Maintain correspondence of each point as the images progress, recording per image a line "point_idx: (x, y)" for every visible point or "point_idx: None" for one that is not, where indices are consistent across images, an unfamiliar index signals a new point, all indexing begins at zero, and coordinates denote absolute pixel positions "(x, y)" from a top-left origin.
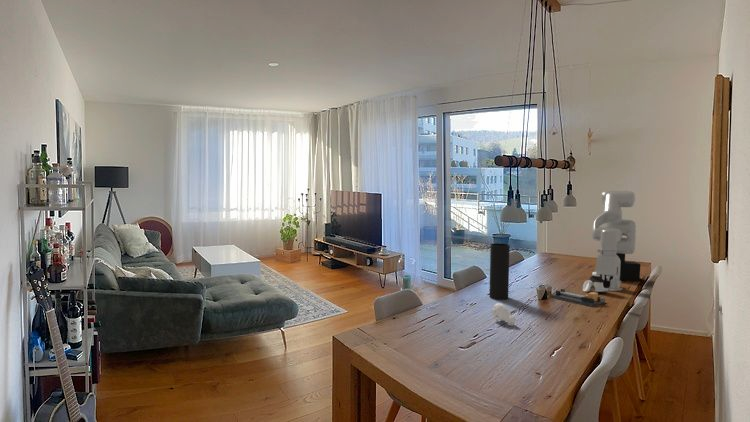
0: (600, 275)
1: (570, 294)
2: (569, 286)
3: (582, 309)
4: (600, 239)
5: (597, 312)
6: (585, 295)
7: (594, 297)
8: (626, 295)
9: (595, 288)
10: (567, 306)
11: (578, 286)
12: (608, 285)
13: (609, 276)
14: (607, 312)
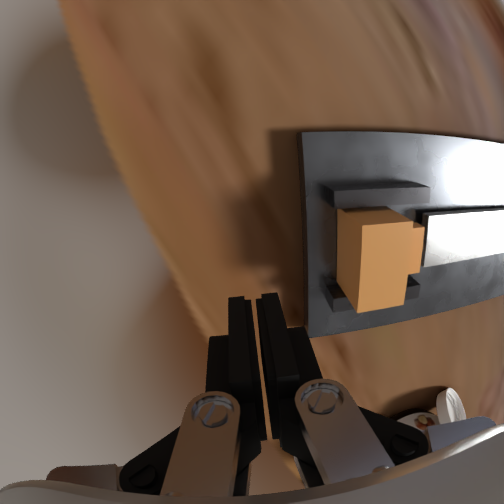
0: (415, 439)
1: (495, 214)
2: (496, 387)
3: (304, 15)
4: None
5: (190, 35)
6: (422, 226)
7: (349, 235)
8: (293, 471)
9: (415, 426)
10: (403, 16)
11: (470, 413)
12: (214, 343)
13: (172, 483)
14: (145, 101)
